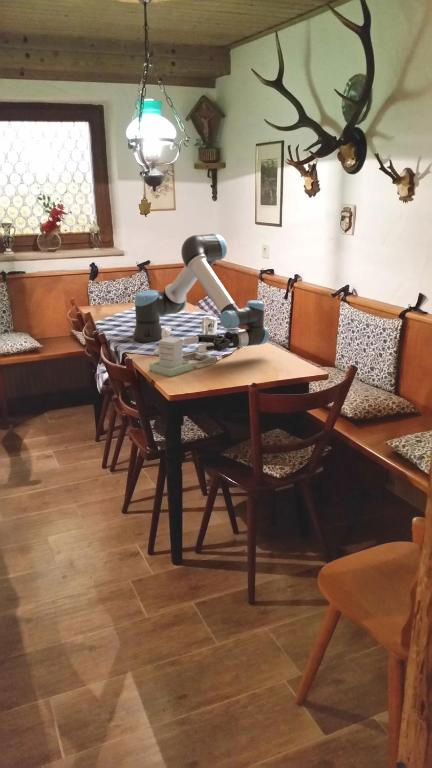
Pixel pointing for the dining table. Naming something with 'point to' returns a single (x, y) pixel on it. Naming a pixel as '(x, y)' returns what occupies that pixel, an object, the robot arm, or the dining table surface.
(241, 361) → the dining table surface
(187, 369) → the green tray
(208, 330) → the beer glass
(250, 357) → the dining table surface
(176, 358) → the supplement box
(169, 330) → the white creature statuette
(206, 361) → the beige square tray
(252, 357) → the dining table surface
